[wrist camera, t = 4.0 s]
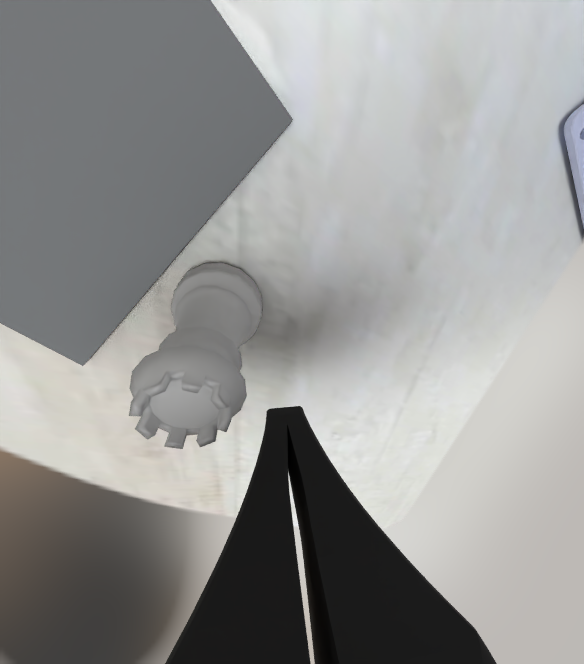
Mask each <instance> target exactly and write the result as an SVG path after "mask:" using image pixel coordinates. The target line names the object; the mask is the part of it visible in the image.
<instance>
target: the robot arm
mask: <svg viewBox="0 0 584 664" xmlns="http://www.w3.org/2000/svg"><path fill="white" fill-rule="evenodd" d="M581 131H582V133H581ZM580 133H581V135H580ZM564 135H565V140H566V145H567V150H568V155H569V160H570V164H571V169H572V174H573V179H574V184H575V189H576V193H577V198H578V203H579V208H580V213H581V218H582V222H583V227H584V104H582V105H581V106H580V107H579V108H578V109H576V110H575V111H574V112H573V113H572V114H571V115H570V116H569V118H568V119H567V121H566V123H565V126H564ZM288 471H289V476H290V482H291V487H292V492H293V498H294V503H295V508H296V514H297V519H298V524H299V530H300V536H301V542H302V550H303V559H304V568H305V577H306V585H307V595H308V603H309V613H310V622H311V631H312V640H313V649H314V659H315V664H496V662H495V660H494V658H493V657H492V655H491V653H490V652H489V650H488V648H487V647H486V645H485V644H484V642H483V641H482V639H481V637H480V636H479V634H478V633H477V631H476V630H475V628H474V627H473V626H472V625H471V624H470V623H469V622H468V621H467V620H466V619H465V618H464V617H463V616H462V615H461V614H460V613H459V612H458V611H457V610H456V609H455V608H454V607H453V606H452V605H451V604H450V603H449V602H448V601H447V600H446V599H445V598H444V597H443V596H442V595H441V594H440V593H439V592H438V591H437V590H436V589H435V588H434V587H433V586H432V585H431V584H430V583H429V582H428V581H427V580H426V578H425V577H424V576H423V575H422V574H421V573H420V572H419V571H418V570H417V569H416V568H415V567H414V566H413V565H412V563H410V561H409V560H408V559H407V558H406V557H405V556H404V555H403V554H402V552H401V551H400V550H399V549H398V548H397V547H396V546H395V544H394V543H393V542H392V541H391V540H390V539H389V538H388V536H387V535H386V534H385V533H384V532H383V531H382V530H381V528H380V527H379V526H378V525H377V524H376V522H375V521H374V520H373V519H372V518H371V516H370V515H369V514H368V513H367V511H366V510H365V509H364V508H363V506H362V505H361V504H360V502H359V501H358V500H357V498H356V497H355V496H354V495H353V493H352V492H351V490H350V489H349V488H348V486H347V485H346V483H345V482H344V481H343V479H342V478H341V476H340V475H339V473H338V472H337V470H336V469H335V467H334V466H333V464H332V463H331V461H330V460H329V458H328V456H327V455H326V453H325V451H324V450H323V448H322V446H321V445H320V443H319V441H318V440H317V438H316V436H315V434H314V432H313V430H312V428H311V427H310V425H309V422H308V420H307V418H306V416H305V414H304V411H303V408H302V407H300V406H295V407H284V408H274V409H269V410H268V411H267V417H266V425H265V431H264V436H263V440H262V444H261V448H260V452H259V455H258V459H257V463H256V466H255V469H254V472H253V475H252V478H251V481H250V484H249V487H248V490H247V493H246V495H245V498H244V501H243V503H242V506H241V508H240V511H239V513H238V516H237V518H236V521H235V523H234V526H233V528H232V530H231V532H230V535H229V537H228V539H227V542H226V544H225V546H224V549H223V551H222V553H221V555H220V557H219V560H218V562H217V564H216V566H215V568H214V570H213V572H212V574H211V576H210V578H209V580H208V582H207V584H206V586H205V588H204V591H203V592H202V594H201V596H200V598H199V600H198V602H197V604H196V606H195V609H194V611H193V613H192V614H191V616H190V618H189V620H188V622H187V624H186V626H185V628H184V630H183V632H182V633H181V635H180V637H179V639H178V641H177V643H176V645H175V646H174V648H173V650H172V652H171V654H170V656H169V658H168V659H167V662H166V663H165V664H310V657H309V649H308V641H307V634H306V626H305V619H304V610H303V602H302V594H301V586H300V579H299V570H298V562H297V554H296V546H295V537H294V529H293V521H292V512H291V503H290V495H289V482H288Z"/></svg>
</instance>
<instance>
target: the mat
mask: <svg viewBox="0 0 584 664" xmlns="http://www.w3.org/2000/svg"><path fill="white" fill-rule="evenodd" d="M292 120H293V119H292V117H291V116H290V115H289V113H288V112H287V110H286V109H285V107H284V106H283V104H282V103H281V102H280V100H279V99H278V97H277V96H276V94H275V93H274V91H273V90H272V89H271V87H270V86H269V84H268V83H267V81H266V80H265V78H264V77H263V76H262V74H261V73H260V71H259V70H258V68H257V67H256V65H255V64H254V63H253V61H252V60H251V58H250V57H249V55H248V54H247V52H246V51H245V50H244V48H243V47H242V45H241V44H240V42H239V41H238V39H237V38H236V37H235V35H234V34H233V32H232V31H231V29H230V28H229V26H228V25H227V24H226V22H225V21H224V19H223V18H222V16H221V15H220V13H219V12H218V11H217V9H216V8H215V6H214V5H213V3H212V2H211V0H0V323H1V324H3V325H5V326H7V327H9V328H11V329H13V330H15V331H16V332H18V333H20V334H22V335H24V336H26V337H28V338H30V339H32V340H34V341H36V342H38V343H40V344H42V345H44V346H45V347H47V348H49V349H51V350H53V351H55V352H57V353H59V354H61V355H63V356H65V357H67V358H69V359H71V360H73V361H74V362H76V363H78V364H80V365H82V366H83V365H84V364H85V363H86V362H87V361H88V360H89V359H90V358H91V357H92V356H93V355H94V353H95V352H96V351H97V350H98V349H99V348H100V346H101V345H102V344H103V343H104V342H105V340H106V339H107V338H108V337H109V336H110V335H111V333H112V332H113V331H114V330H115V329H116V328H117V326H118V325H119V324H120V323H121V322H122V321H123V319H124V318H125V317H126V316H127V315H128V313H129V312H130V311H131V310H132V309H133V308H134V306H135V305H136V304H137V303H138V302H139V301H140V299H141V298H142V297H143V296H144V295H145V294H146V292H147V291H148V290H149V289H150V288H151V286H152V285H153V284H154V283H155V282H156V281H157V279H158V278H159V277H160V276H161V275H162V274H163V272H164V271H165V270H166V269H167V268H168V266H169V265H170V264H171V263H172V262H173V261H174V259H175V258H176V257H177V256H178V255H179V254H180V252H181V251H182V250H183V249H184V248H185V247H186V245H187V244H188V243H189V242H190V241H191V239H192V238H193V237H194V236H195V235H196V234H197V232H198V231H199V230H200V229H201V228H202V227H203V225H204V224H205V223H206V222H207V221H208V219H209V218H210V217H211V216H212V215H213V214H214V212H215V211H216V210H217V209H218V208H219V207H220V205H221V204H222V203H223V202H224V201H225V200H226V198H227V197H228V196H229V195H230V194H231V192H232V191H233V190H234V189H235V188H236V187H237V185H238V184H239V183H240V182H241V181H242V180H243V178H244V177H245V176H246V175H247V174H248V173H249V171H250V170H251V169H252V168H253V167H254V165H255V164H256V163H257V162H258V161H259V160H260V158H261V157H262V156H263V155H264V154H265V153H266V151H267V150H268V149H269V148H270V147H271V145H272V144H273V143H274V142H275V141H276V140H277V138H278V137H279V136H280V135H281V134H282V133H283V131H284V130H285V129H286V128H287V127H288V126H289V124H290V123H291V122H292Z"/></svg>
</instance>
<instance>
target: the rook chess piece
mask: <svg viewBox="0 0 584 664" xmlns="http://www.w3.org/2000/svg"><path fill="white" fill-rule="evenodd" d="M171 312H172V316H173V320H174V323H175V326H176V331H175V332H173V333H171V334H169V335H168V336H167V337H166V339H165V340H164V341H163V342H162V343H161V344H160V346H159V351H156V352H154V353H152V354H150V355H147V356H145V357H144V358H143V359H142V361H141V362H140V363H139V364H138V365H137V366H136V367H135V369H134V370H133V371H132V376H131V383H130V390H131V393H132V395H133V397H134V398H133V400H132V402H131V407H130V413H129V416H142V417H141V419H140V420H139V422H138V424H137V426H136V428H135V429H136V430H137V431H138V432H139V433H140V434H142V435H143V436H144V437H145V438H146V439H147V440H148V439H149V438H151V437H153V436H154V435H155V434H156V432H157V430H158V428H160V429H162V430H164V431H167V432H169V435H168V438H167V440H166V443H165V447H172V448H179V449H183V446H184V442H185V439H186V435H196V434H198V436H197V440H196V441H197V443H198V444H199V446H200V447H202V446H205V445H207V444H210V443H212V442H215V441H216V435H217V429H218V430H221V431H225V432H226V431H227V429H228V427H229V424H230V422H231V418H232V417H233V416H234V415H235V414H237V413H238V412H239V411H240V410H241V408H242V406H243V403H244V401H245V399H246V396H247V394H246V386H245V379H244V378H243V376H242V375H241V373H240V370H241V367H242V361H241V353H240V351H239V350H238V349H239V347H240V346H241V345H243V344H245V343H246V342H247V341H248V340H249V339H250V338H251V337H252V336H253V335H254V334H255V332H256V330H257V328H258V325H259V322H260V320H261V313H262V296H261V294H260V292H259V290H258V288H257V286H256V284H255V282H254V281H253V280H252V279H251V278H250V277H249V276H248V275H247V274H245V273H244V272H243V271H242V270H241V269H238V268H235V267H233V266H230V265H227V264H224V263H204V264H202V265H200V266H198V267H196V268H194V269H191V270H189V271H188V272H187V273H186V275H185V276H184V277H183V278H182V279H181V281H180V282H179V283H178V286H177V288H176V289H175V290H174V294H173V299H172V304H171Z"/></svg>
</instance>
